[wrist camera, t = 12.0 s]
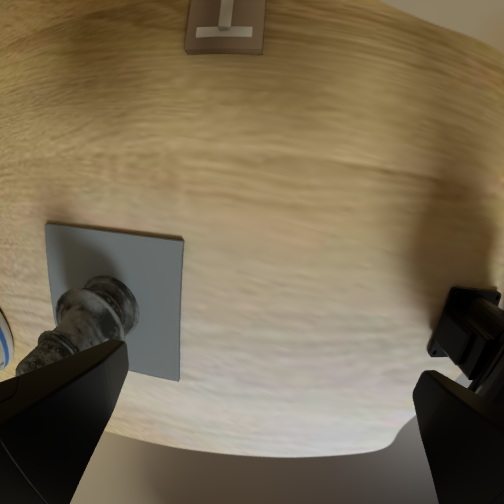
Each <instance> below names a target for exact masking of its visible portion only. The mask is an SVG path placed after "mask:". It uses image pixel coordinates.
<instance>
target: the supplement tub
mask: <svg viewBox="0 0 504 504" xmlns="http://www.w3.org/2000/svg"><path fill="white" fill-rule="evenodd" d="M13 353H14V345H13V340H12V336H11V333H10V330H9V327H8V325H7V323H6V321H5V319H4V317H3V315H2V313H1V312H0V372H1V371H2V370H3V369H4V368H5V367H6V366H7V365H8V364H9V363H10V361H11V360H12V357H13Z"/></svg>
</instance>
